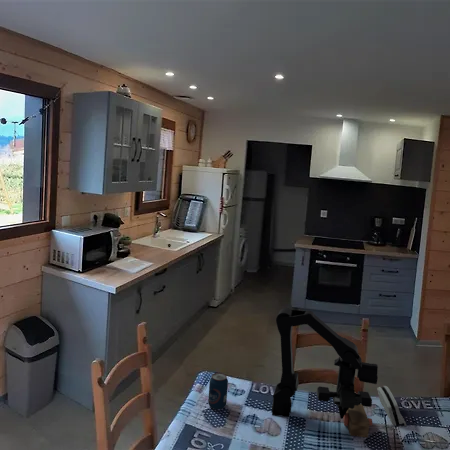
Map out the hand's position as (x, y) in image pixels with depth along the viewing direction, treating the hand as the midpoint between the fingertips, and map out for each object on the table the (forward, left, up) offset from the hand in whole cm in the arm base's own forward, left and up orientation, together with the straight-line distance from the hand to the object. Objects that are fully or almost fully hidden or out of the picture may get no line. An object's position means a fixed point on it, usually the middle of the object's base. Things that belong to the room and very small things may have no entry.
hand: (341, 418), depth 161 cm
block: (+5, 0, -3) cm, 6 cm away
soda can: (-46, +3, -3) cm, 46 cm away
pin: (+6, 0, -2) cm, 6 cm away
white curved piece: (+21, +12, -3) cm, 24 cm away
